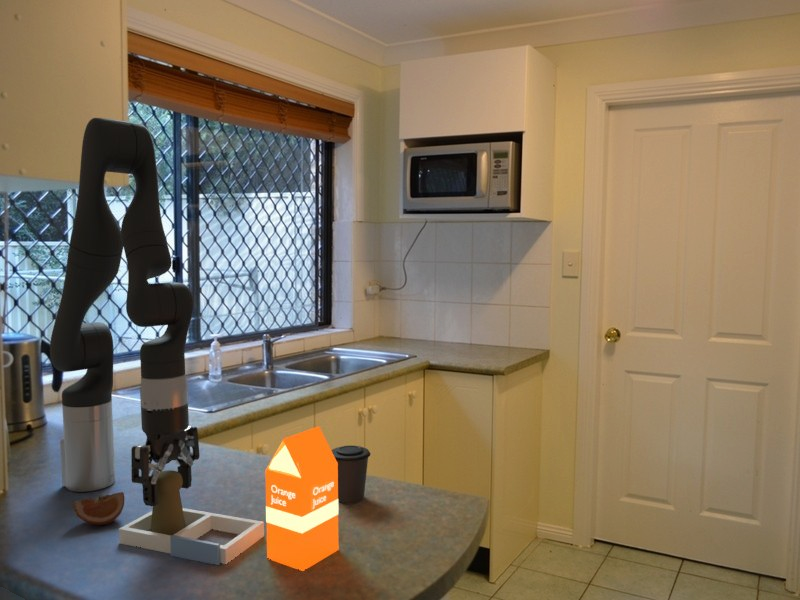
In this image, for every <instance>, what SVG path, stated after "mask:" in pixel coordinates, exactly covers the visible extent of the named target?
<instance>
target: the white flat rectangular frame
mask: <svg viewBox="0 0 800 600" xmlns="http://www.w3.org/2000/svg"><path fill="white" fill-rule="evenodd" d="M182 508H183V514H184V520H185V525H186V527H185V528H184V529H182V530H180V531H179V532H177V533H175V534H174V535H172V536H171V535H166V534H160V533H155V532H150V530H149V529H151V519H152V510H151V511H149V512H147V513H145V514H143V515H142V516H140V517H138V518H137V519H135V520H132V521H131V522H130V521H129V523H127V524H125V525H123V526H122V527H119V528H118V543H119V544H120V545H126V546H131V547H136V546H137V547H136V548H140V547H141V549H145V550H151V551H156V552H161V553H165V554H170V556H171V557H174V558H175V557H176V558H181V559H186V560H189V561H190V560H191V561H195V562H199V563H200V562H201V563H205V564H209V565H214V564H215V565H214V566H219V565H225V564H226V565H227V563H228V562H229V563H230V562H231V560H232V561H233V560H234V559H235V557H236V558H237V557H239V555H241V554H242V553H244V552H245V551H247V549H249V548H250V547H252V546H253V545H254V544H256V543H257V542H258V541H260V540H261V539H262V538H263V537H265V521H261V520H255V519H250V518H244V517H239V516H238V517H237V516H232V515H226V514H221V513H214V512H207V511H202V510H197V509H196V510H195V509H190V508H186V507H182ZM212 529H213V531H217V530H218V532H224V533H229V534H234V535H236V537H234V538H233V539H231V540H229V541H228V542H227V543H226V544H220V543H218V542H212V541H208V540H201V539H199V538H201V537H202V536H203V535H204V536H205V534H207V533H208V532H210V531H211V530H212ZM200 536H201V537H200ZM240 553H241V554H240ZM220 563H222V564H220ZM229 563H228V564H229Z"/></svg>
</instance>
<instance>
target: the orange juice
mask: <svg viewBox="0 0 800 600" xmlns="http://www.w3.org/2000/svg"><path fill="white" fill-rule="evenodd" d="M331 450H332V449H331V447H330V445H329V444H328V441H327V439H326V437H325V435H324V433H323V431H322V429H321V427H320V426H319V425H318V426H316V427H312V428H310V429H307V430H305V431H301V432H299V433H296V434H293V435H290V436H287V437H284V438H282V441H281V443H280V445H279V447H278V448H277V449H276V451H275V453H274V455H273V457H272V458H271V460H270V462H269V464H268V465H267V467H266V469H265V470H264V471H265V523H266V559H267V558H269V559H268V560H270V559H271V561H273V562H275V563H276V562H277V563H278V564H282V565H284V566H287V567H290V568H293V569H295V570H298V569H299V571H302V572H304V571H306V570H307V569H309V568H311V567H313V566H314V565H316V564H317V563H319V562H321V561H323V560H324V559H325V558H327V557H329V556H330V555H332V554H334V553H336V552H337V551H339V550H340V549H339V548H340V547H339V502H338V463H337V461H336V459H335V457H334V455H333V453H332V451H331ZM305 569H306V570H305Z"/></svg>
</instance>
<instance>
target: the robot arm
mask: <svg viewBox="0 0 800 600" xmlns="http://www.w3.org/2000/svg"><path fill="white" fill-rule="evenodd" d="M85 126H86V127H85V129H84V132H83V137H82V145H81V156H80V168H79V182H78V184H79V185H78V194H77V202H76V207H75V208H76V209H75V214H74V220H73V224H72V231H71V233H70V234H71V235H70V240H69V244H68V245H69V246H68V251H67V252H68V253H67V258H66V259H67V260H66V266H65V267H66V268H65V275H64V281H63V287H62V288H63V289H62V292H61V293H62V294H61V297H60V302H59V305H58V309H57V313H56V315H55V321H54V324H53V327H52V332H51V337H50V344H49V355H50V356H49V357H50V361H51V364H52V365H53V367H54V369H56V370H58V371H60V372H76V371H83V370H86V372H85V374H84V375H83V376H82V377H81V378H80V379H79V380H77V381H76V382H74V383H73V384H71V385H69V386H67V387H66V388H64V389H63V391H62V392H61V406H62V407H61V408H62V409H61V410H62V424H63V427H62V428H63V439H61V440H60V463H61V481H62V485H61V486H62V487H65V488H66V489H67V490H68V491H72V492H76V493H77V492H78V493H79V492H81V493H83V492H93V491H98V490H102V489H105V488H107V487H110V486H112V485H113V484H114V483H116V471H115V469H116V467H115V446H114V445H115V443H114V422H113V421H114V420H113V418H114V417H113V397H112V392H113V388H114V357H115V356H114V339H113V335H112V332H111V329H110V328H109V326H108V325H107V324H105V322H100V321H99V322H97V321H95V322H86V323H83V322H84V319H85V317H86V315H87V313H88V312H89V310H90V308H91V307H92V306H93V305H94V303H95V302H96V301H97V300H98V299H99V297H100V296H101V295H102V294H103V293H104V292H105V291H107V289H108V288H109V286H110V285H112V283H113V281H114V280H115V278H116V277H117V276H118V273H119V271H120V266H121V260H122V256H123V251H124V254H125V259H126V262H127V271H128V272H127V274H128V277H127V279H128V282H127V292H126V303H125V305H126V306H125V308H126V314H127V317H128V319H129V321H131V322H132V323H133V324H134V325H135V326H136V327H141V328H148V327H149V328H150V327H159V326H167V327H166V329H165V331H164V333H163V334H162V335H161V336H159V337H156V338H153V339H151V340H148V341H145V342H144V343H143V344H142V345H141V346H140V350H139V358H140V387H139V393H140V399H139V400H140V417H141V419H140V420H141V430H142V432H143V434H145V436H146V441H145V444H143V445H133V446H132V447H131V450H130V451H131V452H130V453H131V455H130V457H131V458H130V459H131V482H132V483H133V484H134V483H135V484H141V485H142V500H143V503H144V505H145V506H147V507H153V506H155V505H157V504H158V489H157V483H156V481H157V478H158V476H159V473H160V472H161V471H164V470H165V467H166V465H167V464H170V462H172V461H175V462H176V463H177V465H178V466H177V472H179V473H180V474H181V476H182V479H183V484H182V487H181V489H190V488H191V487H192V479H193V478H192V466H193V464H194V462H195V460H196V461H197V460H199V459H200V455H201V454H200V447H199V446H200V444H199V434H198V433H199V432H198V431H199V430H198V427H197V426H191V425H190V420H189V415H190V414H189V395H188V391H189V389H188V384H187V378H186V358H185V357H186V356H185V353H186V344H187V340H188V339H187V338H188V333H189V329H190V326H191V321H192V318H193V314H194V307H195V306H194V304H195V302H194V296H193V293H192V291H191V289H190V288H189V287H188V285H186V284H184V283H182V282H161V283H160V282H159V283H149V281H148V280H150V279H153V278H158V277H160V276H162V275H165V274H166V273H167V272H169V270H170V269H171V268H172V265H173V264H172V262H173V261H172V257H171V252H170V250H169V249H170V248H169V245H168V241H167V238H166V233H165V230H164V225H163V221H162V214H161V207H160V206H161V204H160V195H159V193H160V192H159V191H160V190H159V181H158V170H157V162H156V161H157V160H156V153H155V147H154V140H153V137H152V135H151V132H150V130H149V129H148V128H147V127H146V126H145V125H143V124H140V123H136V122H130V121H125V120H117V119H110V118H105V117H93V118H91V119H89V121H88V123H87V124H86V125H85ZM106 173H115V174H116V173H119V174H124V175H125V174H128V175H132V176H133V179H134V183H135V191H134V194H133V197H132V199H131V202H130V204H129V206H128V208H127V209H126V212H125V214H124V216H123V218H122V222H121V228H120V226H119V223H118V222H117V221H118V220H117V219H116V218H115V215H114V214H113V211H112V210H111V207H110V205H109V203H108V201H107V199H106V194H105V178H106ZM191 448H192V451H191ZM152 462H154V463H152ZM140 471H141V473H140ZM151 471H152V472H151ZM150 472H151V475H150Z"/></svg>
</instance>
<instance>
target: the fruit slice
mask: <svg viewBox="0 0 800 600" xmlns="http://www.w3.org/2000/svg"><path fill="white" fill-rule="evenodd" d="M72 504H73V510H72V511H73V512H74V513H75V515H76V517H77V518H78V519H80V520H82V521H83V522H85V523H86V524H90V525H93V526H94V525H95V526H104V525H108V524H110V523H112V522H113V521H115V520H117V519H118V517H119V516H120V515H121V514H122V512H123V509H124V505H125V493H124V492H123V491H121V492H116V493H112V494H105V495H101V496H100V495H99V496H98V497H96V498H86V499H79V500H73V501H72Z"/></svg>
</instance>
